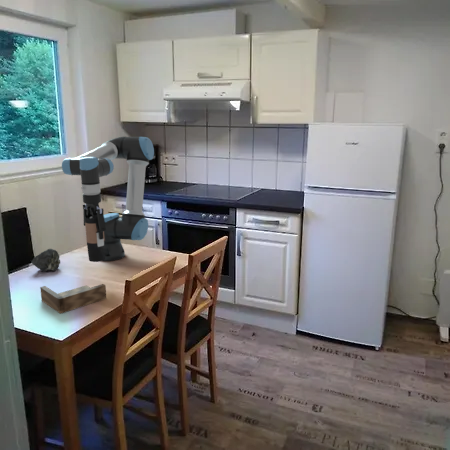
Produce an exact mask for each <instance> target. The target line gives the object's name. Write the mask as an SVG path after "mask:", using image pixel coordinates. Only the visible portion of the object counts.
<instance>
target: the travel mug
mask: <svg viewBox="0 0 450 450" xmlns="http://www.w3.org/2000/svg"><path fill="white" fill-rule="evenodd" d="M95 219H98V218H93V217H92V216H91V217H89V218H88V217H87V215H86V216H85V226H84V228H85V235H86V236H85V237H86V238H85V239H86V246H87V247H86V248H87V254H88V256H87V257H88V261H89V262H92V263H97V262H98V263H99V262H104V261H103V260H105V239H104V246H100V247H98V245H97V233H96V232H97V228H96V221H95ZM103 238H104V231H103Z"/></svg>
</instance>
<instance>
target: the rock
mask: <svg viewBox="0 0 450 450" xmlns="http://www.w3.org/2000/svg"><path fill="white" fill-rule="evenodd" d="M31 264H32V265H33V266H35V267H36V269H38V270H39V271H41V272H48V271H53V272H55V271H56V270H58V268H60V265H61V259H60V254H59V252H58V251H57V250H56V249H53V248H48V249H46V250H44V251H42V252H40V253H38V254H37V255H36V256H34V257H33V259H32V260H31Z"/></svg>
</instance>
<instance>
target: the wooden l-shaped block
mask: <svg viewBox="0 0 450 450" xmlns="http://www.w3.org/2000/svg"><path fill="white" fill-rule="evenodd" d="M106 288H107V287H106V284H104V283H100V284H97V285H95V286H94V285H93V286H89V285H86V284H85V285H82V286H79V287H76V288H72V289H69V290H66V291H63V292H60V293H59V292H58V293H57V292H55V291H54V290H52V289H50V287H47V286H46V285H43V286H40V287H39V289H40V296H41V301H42V302H43V303H44V304H46V305H47V306H48V307H50V308H52V309H53V310H55V311H56V312H57V313H59V314H65V313H66V312H70V311H73V310H75V309H79V308H82V307H85V306H88V305H90V304H91V305H92V304H93V303H97V302H101V301H104V300H107V289H106Z"/></svg>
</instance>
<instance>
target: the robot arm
mask: <svg viewBox="0 0 450 450" xmlns="http://www.w3.org/2000/svg"><path fill="white" fill-rule="evenodd" d="M154 156H155V148H154V145H153V142H152V140H151V139H150V138H149V137H146V136H118V137H115V138H111V139H109V140H107V141H105V142H103V143H102V144H101V146H98V147H96V148H94V149H92V150H90V151H88V152H85V153H83V154H81V155H79V156H76V157H68V158H64V159H63V160H62V162H61V170H62V172H63V173H64V174H65V175H67V176H80V180H81V190H82V202H83V204H82V211H83V212H82V213H83V226H84V227H85V216H86V215H87V217H88V218H89V217H91V216H92V217H93V218H98V219H95V221H96V228H97V232H96V233H97V245H98V247H100V246H104V239H105V260H103V261H102V262H109V261H110V262H111V261H112V262H113V261H118V260H120V259H123V258H124V257H126V254H125V253H126V252H125V249H124V246H123V244H122V241H121V240H125V241H126V240H128V241H142V240H143V239H145V238H146V235H147V233H148V230H149V221H148V219H147V218H146V217H145V216H146V214H145V213H144V212H143V206H144V192H145V179H146V167H147V166H148V165H150V161H152V160H153V159H154ZM118 159H120V160H121V159H123V160H124V159H125V160H126V163H127V165H128V172H127V173H128V175H127V177H128V178H127V186H126V199H125V210H124V211H123V212H122V213H121V216H120V214H119V212H112V213H106V214H104V208H101V207H100V203H101V202H102V194H101V182H100V178H102V177H105V176H108V175H111V173H113V172H114V169H115V168H114V163H113V160H118ZM103 231H104V238H103Z"/></svg>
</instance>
